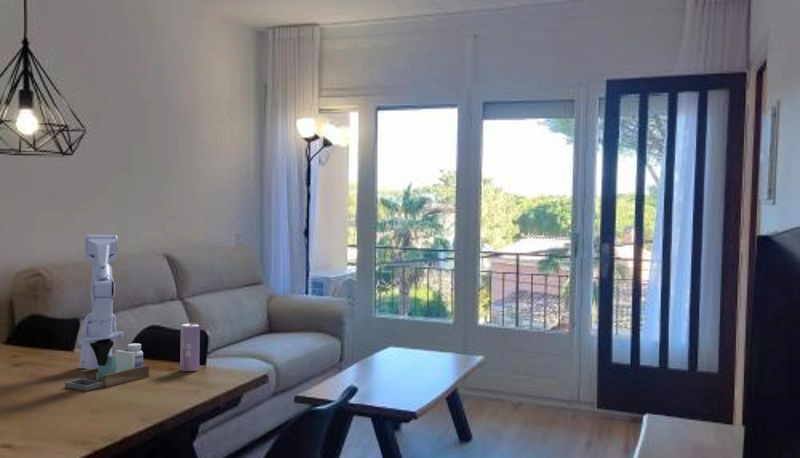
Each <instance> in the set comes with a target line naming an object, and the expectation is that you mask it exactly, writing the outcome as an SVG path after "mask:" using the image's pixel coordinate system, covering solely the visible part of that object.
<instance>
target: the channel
mask: <svg viewBox="0 0 800 458" xmlns="http://www.w3.org/2000/svg"><path fill="white" fill-rule="evenodd" d="M97 374H98V367H97V368H92V369H84V370H80V379H82V378H85V379H90V380H95V381H98V380H97ZM147 376H149V377H150V365H148V364H143V366H140V367H136V368H131V369H127V370H123V371H119V372H115V373H110V374H106V375H103V381H102V382H104V387H103V388H111V387H113V386H118V385H121V384H125V383H129V382H133V381H137V380H141V379H144V377H145V378H148V377H147ZM140 378H141V379H140Z"/></svg>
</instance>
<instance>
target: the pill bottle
mask: <svg viewBox="0 0 800 458" xmlns="http://www.w3.org/2000/svg"><path fill="white" fill-rule="evenodd" d="M141 349H142V344H141V343H135V342H134V343H129V344H127V351H128V352H134V353H135V368H136V367H140V366H144V352H143V350H141Z"/></svg>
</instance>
